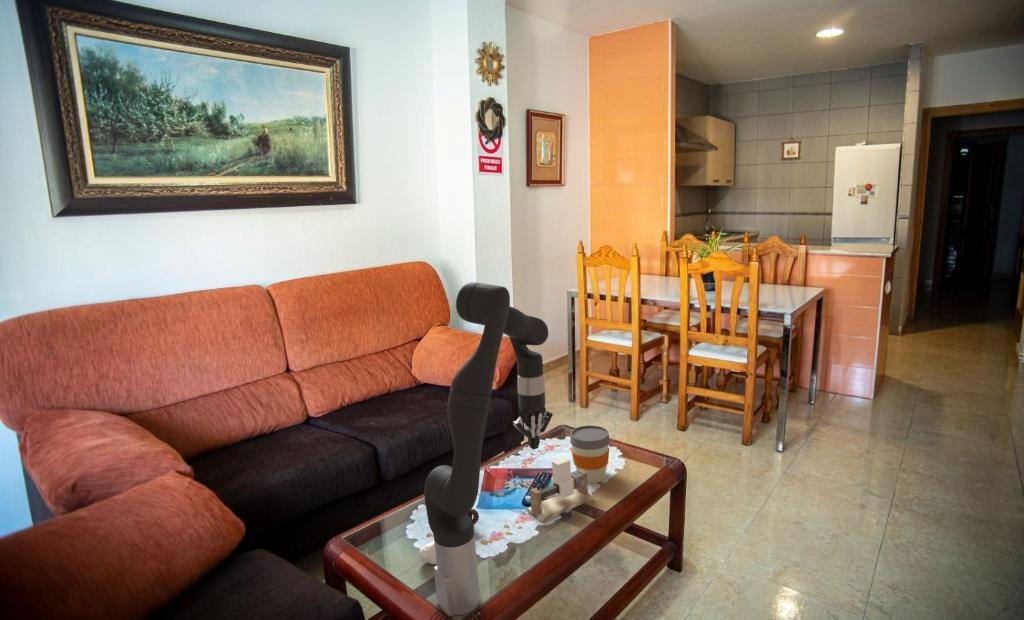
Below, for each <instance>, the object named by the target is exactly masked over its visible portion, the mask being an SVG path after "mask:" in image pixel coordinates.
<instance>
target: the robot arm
mask: <svg viewBox="0 0 1024 620" xmlns="http://www.w3.org/2000/svg"><path fill="white" fill-rule="evenodd" d="M455 308H456V312H457V315H458V316H459V318H461V319H462V320H463V321H465V322H467V323H470V324H471V323H472V324H475V325H481V326H484V327H483V332H482V335H481V337H480V341H479V343H478V345H477V347H476V349H475V350H474V351H473V353H472V354H471V355H470V357H469V358H468V359H467V360H466V361H465V362H464V363H463V365H461V367H459V369H458V370H457V372H456V373H455V375H454V376H453V378H452V381H451V384H450V389H449V395H448V399H447V409H446V412H447V419H448V426H449V429H450V434H451V437H452V443H453V461H452V466H450V465H447V464H445V465H444V464H443V465H438V466H436V467H435V468H434V469H432V470H431V471H430V473H429V474H428V475H427V478H426V479H425V483H424V491H423V492H424V494H423V495H424V503H425V510H426V516H427V521H428V522H427V524H428V526H429V528H430V530H431V532H433V535H434V537H433V540H434V544H435V554H436V564H435V565H436V566H435V565H434V567H433V574H434V575H433V576H434V584H435V593H436V603H437V605H438V606H439V607H440V609H442V611H443V612H444V613H445V614H446V615H447V614H448V615H449V616H451V617H453V616H462V615H466V614H469V613H471V612H473V611H474V610H476V608H477V607H478V606H479V604H480V602H481V595H480V594H481V592H480V591H481V590H480V583H479V571H478V559H477V557H478V556H477V550H476V549H477V547H476V538H475V536H476V535H475V525H473V522H472V520H473V519H472V520H471V518H470V517H469V516H468V515H467V514H468V513H469V512H470V510H471V509H474V508H473V507H474V506H475V503H476V501H477V498H478V494H479V486H480V476H481V475H480V473H481V462H482V461H481V460H482V452H483V444H484V438H485V431H486V424H487V420H488V414H489V409H490V404H491V399H492V398H491V397H492V391H493V387H494V379H495V374H496V373H495V372H496V367H497V362H498V357H499V356H498V355H499V352H500V347H501V344H502V340H503V336H504V335H505V336H507V337H509V340H510V344H511V347H512V350H513V352H514V356H515V359H516V365H517V366H516V367H517V384H516V385H517V400H518V401H517V402H518V408H519V412H518V418H517V419H516V420H513V421H512V422H511V425H512V426H513V427H514V428H515V429H516V430H518V432H519V433H520V434H521V435H523V436H524V437H526V438H527V443H528V447H529V448H530V449H531V450H536V449H539V447H540V435H541V433H545V431H546V429H547V427H548V425H549V424H550V422H551V419H552V418H553V415H554V414H553V412H550V411H549V410H547V408H546V391H545V389H546V386H545V377H544V365H543V364H544V363H543V362H544V361H543V356H542V354H541V353H539V352H537V351H534V350H531V349H530V348H529V347H528V346H541V345H543V344H544V343H545V342H546V341H547V340H548V337H549V328H548V325H547V323H546V322H545V321H544V320H543V319H541V318H539V317H535V316H532V315H527V314H526V313H524V312H522V311H521V310H519V309H518V308H516V307H513V306H511V295H510V291H509V290H508V289H507V288H506V287H505V286H502V285H495V284H490V283H482V282H474V281H473V282H468V283H465V284H463V285H462V287H460V289H459V290H458V293H457V295H456V300H455ZM448 615H447V616H448ZM449 616H448V617H449Z"/></svg>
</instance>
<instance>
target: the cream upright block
mask: <svg viewBox="0 0 1024 620" xmlns="http://www.w3.org/2000/svg"><path fill="white" fill-rule="evenodd" d="M551 468H552V469H551V470H552V471H551V472H552V476H551V478H550V482H551V485H550V486H552V485H554V484H557V485H559V491H560V492H558V493H556V494H554V495H555V496H558V497H560V498H561V499H563V498H565V497H568V496H570V495H572V494H574V490H573V479H572V478H571V473H572V471H571V460H570V459H568V458H567V457H565V456H562V457H560V458H558V459H554V460H552V461H551Z"/></svg>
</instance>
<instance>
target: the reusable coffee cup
mask: <svg viewBox="0 0 1024 620" xmlns="http://www.w3.org/2000/svg"><path fill="white" fill-rule="evenodd" d="M610 441H611V440H610V435H609V431H608V429H607V428H605V427H603V426H599V425H591V424H589V425H580V426H577V427H575V428H574V429H572V430H571V431H570V439H569V443H570V444H571V449H570V450H571V456H572V461H573V465H574V466H575V471H577V470H579V469H582V470H584V471H586V472H587V478H588V484H597V483H600V482H602V481H604V480H605V478H606V472H607V465H608V464H609V457H610V456H609V455H610V448H609V445H610Z"/></svg>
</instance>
